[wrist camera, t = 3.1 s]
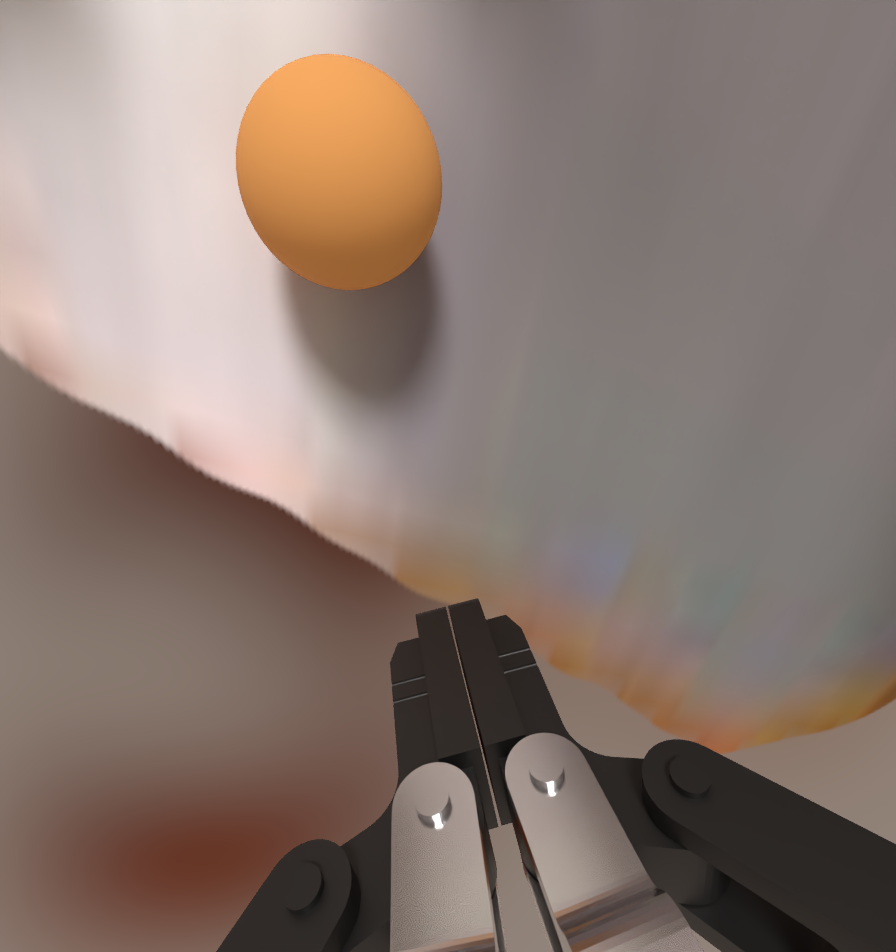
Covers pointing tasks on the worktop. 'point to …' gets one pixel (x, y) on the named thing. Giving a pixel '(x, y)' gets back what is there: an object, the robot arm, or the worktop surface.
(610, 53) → the worktop surface
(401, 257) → the ball
